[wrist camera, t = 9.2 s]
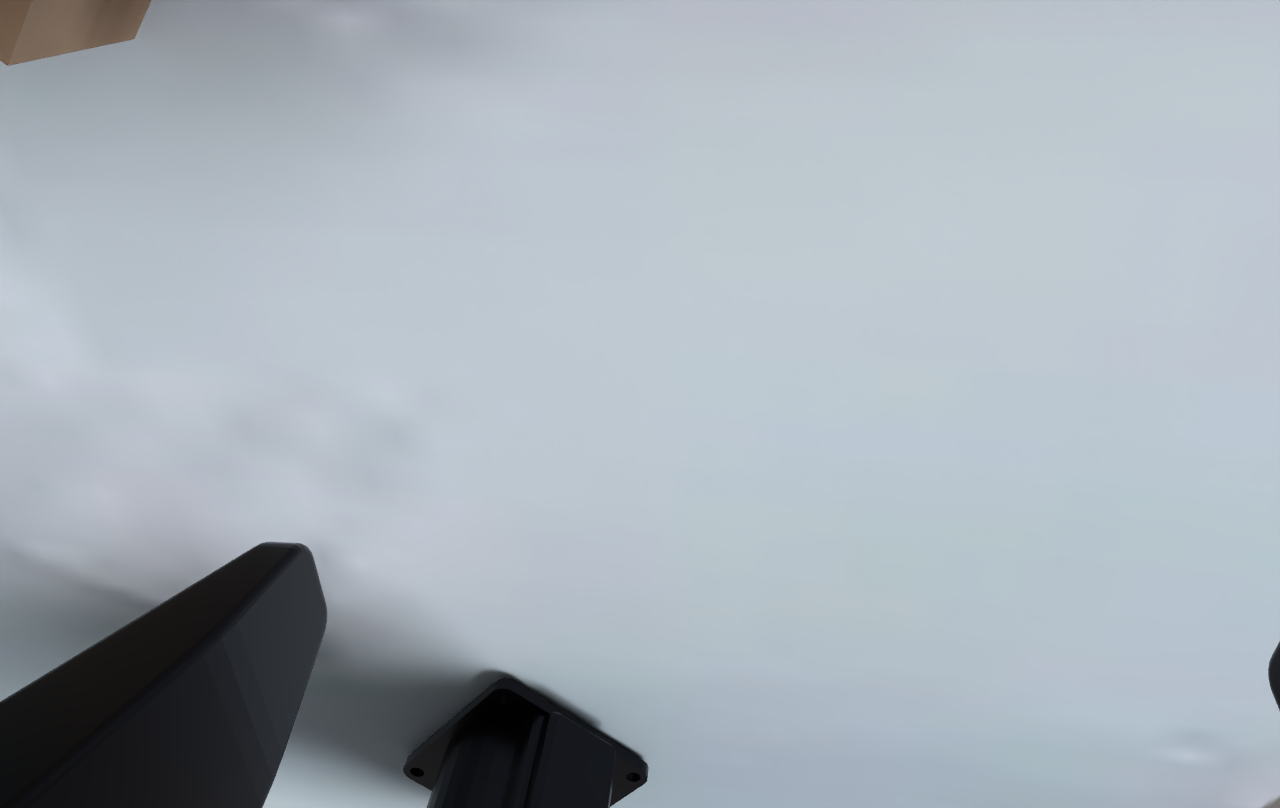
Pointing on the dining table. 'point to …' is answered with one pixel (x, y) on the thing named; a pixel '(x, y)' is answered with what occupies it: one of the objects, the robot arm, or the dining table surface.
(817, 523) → the dining table surface
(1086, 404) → the dining table surface
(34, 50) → the walnut base block
